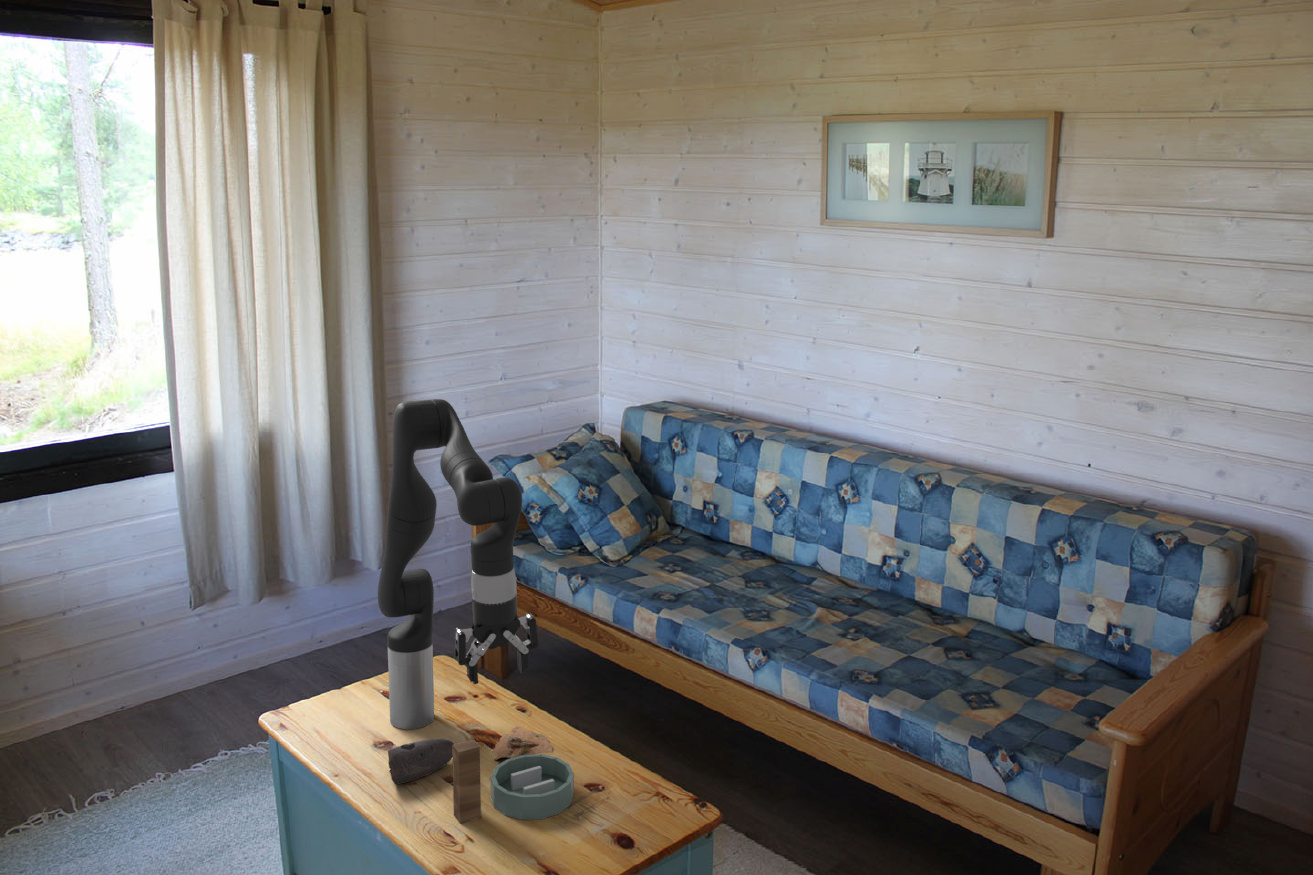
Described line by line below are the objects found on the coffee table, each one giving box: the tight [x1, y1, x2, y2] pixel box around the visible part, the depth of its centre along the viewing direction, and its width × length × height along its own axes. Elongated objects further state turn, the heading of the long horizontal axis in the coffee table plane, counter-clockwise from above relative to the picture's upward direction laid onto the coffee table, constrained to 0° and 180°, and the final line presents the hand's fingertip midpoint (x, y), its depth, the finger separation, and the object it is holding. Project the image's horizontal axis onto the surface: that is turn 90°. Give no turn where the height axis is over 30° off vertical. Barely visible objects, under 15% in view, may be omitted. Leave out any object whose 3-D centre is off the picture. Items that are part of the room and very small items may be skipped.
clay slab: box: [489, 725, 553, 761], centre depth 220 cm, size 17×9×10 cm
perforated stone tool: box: [387, 738, 455, 785], centre depth 208 cm, size 15×5×7 cm, turn 130°
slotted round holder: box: [490, 753, 575, 821], centre depth 202 cm, size 15×15×4 cm
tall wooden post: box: [452, 739, 482, 825], centre depth 194 cm, size 3×4×14 cm
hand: (498, 676), depth 188 cm, fingers open, 8 cm apart
